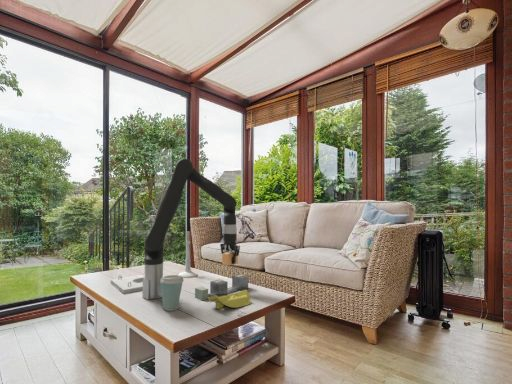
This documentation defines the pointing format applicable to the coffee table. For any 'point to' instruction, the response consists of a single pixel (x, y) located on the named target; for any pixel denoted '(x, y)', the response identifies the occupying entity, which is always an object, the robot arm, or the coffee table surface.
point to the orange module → (228, 258)
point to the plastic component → (232, 300)
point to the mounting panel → (129, 284)
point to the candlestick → (188, 261)
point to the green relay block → (201, 293)
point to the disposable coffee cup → (171, 291)
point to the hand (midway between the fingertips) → (229, 262)
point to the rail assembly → (222, 288)
